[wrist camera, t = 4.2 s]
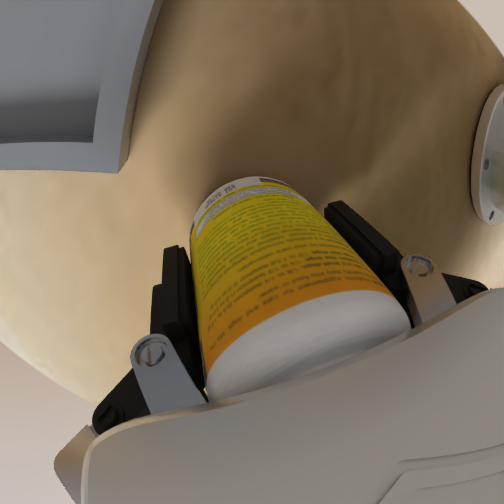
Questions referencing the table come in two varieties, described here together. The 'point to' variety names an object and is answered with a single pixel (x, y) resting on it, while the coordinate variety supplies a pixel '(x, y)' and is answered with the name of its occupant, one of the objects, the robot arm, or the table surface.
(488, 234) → the table surface
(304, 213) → the supplement bottle
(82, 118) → the tray
